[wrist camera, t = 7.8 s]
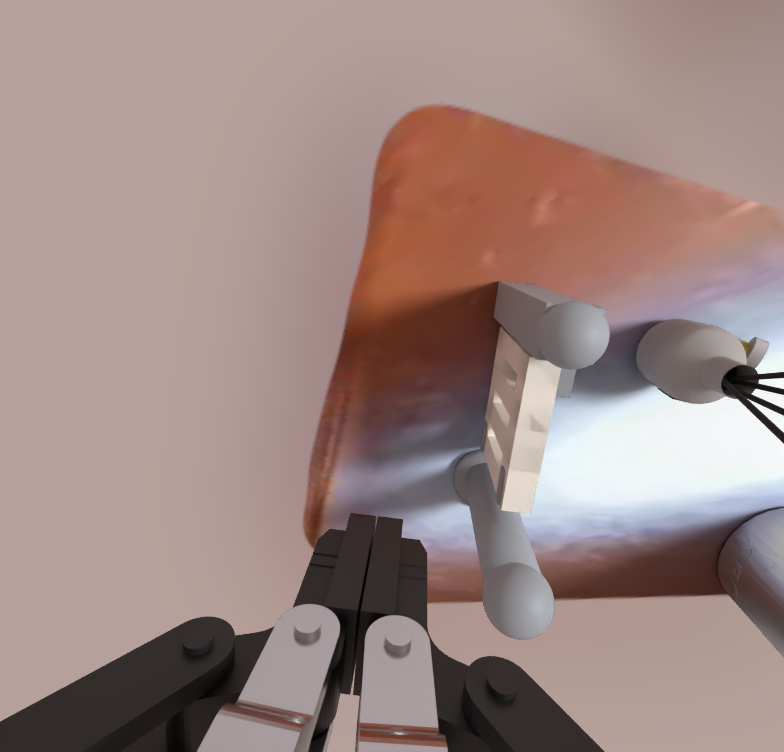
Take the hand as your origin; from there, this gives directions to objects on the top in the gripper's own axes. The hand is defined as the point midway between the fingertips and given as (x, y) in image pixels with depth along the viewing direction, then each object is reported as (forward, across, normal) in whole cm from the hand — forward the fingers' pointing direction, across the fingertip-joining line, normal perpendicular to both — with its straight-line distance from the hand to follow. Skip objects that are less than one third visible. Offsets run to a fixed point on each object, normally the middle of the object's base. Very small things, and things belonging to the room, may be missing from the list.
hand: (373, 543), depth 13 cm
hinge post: (+20, -7, +8) cm, 23 cm away
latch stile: (+20, -7, -4) cm, 22 cm away
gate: (+19, -7, +1) cm, 21 cm away
